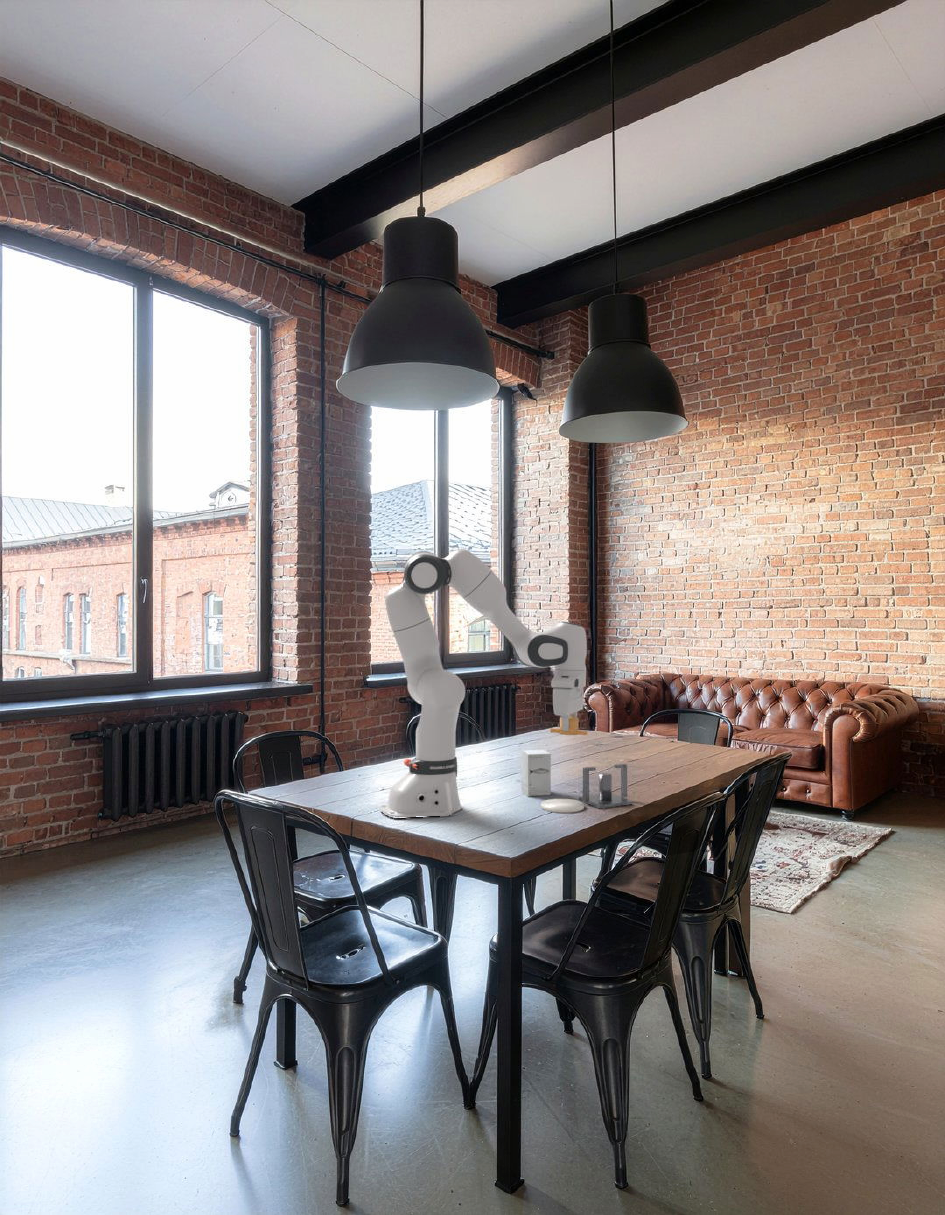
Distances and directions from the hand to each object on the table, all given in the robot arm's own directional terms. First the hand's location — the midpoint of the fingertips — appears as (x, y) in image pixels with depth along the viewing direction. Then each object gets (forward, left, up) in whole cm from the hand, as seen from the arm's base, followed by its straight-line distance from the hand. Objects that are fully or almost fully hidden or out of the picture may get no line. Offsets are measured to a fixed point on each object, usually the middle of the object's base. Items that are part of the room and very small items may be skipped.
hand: (568, 728), depth 220 cm
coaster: (-2, 0, -22) cm, 22 cm away
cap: (0, 0, -1) cm, 1 cm away
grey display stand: (+12, 0, -22) cm, 25 cm away
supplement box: (-1, +18, -22) cm, 28 cm away
